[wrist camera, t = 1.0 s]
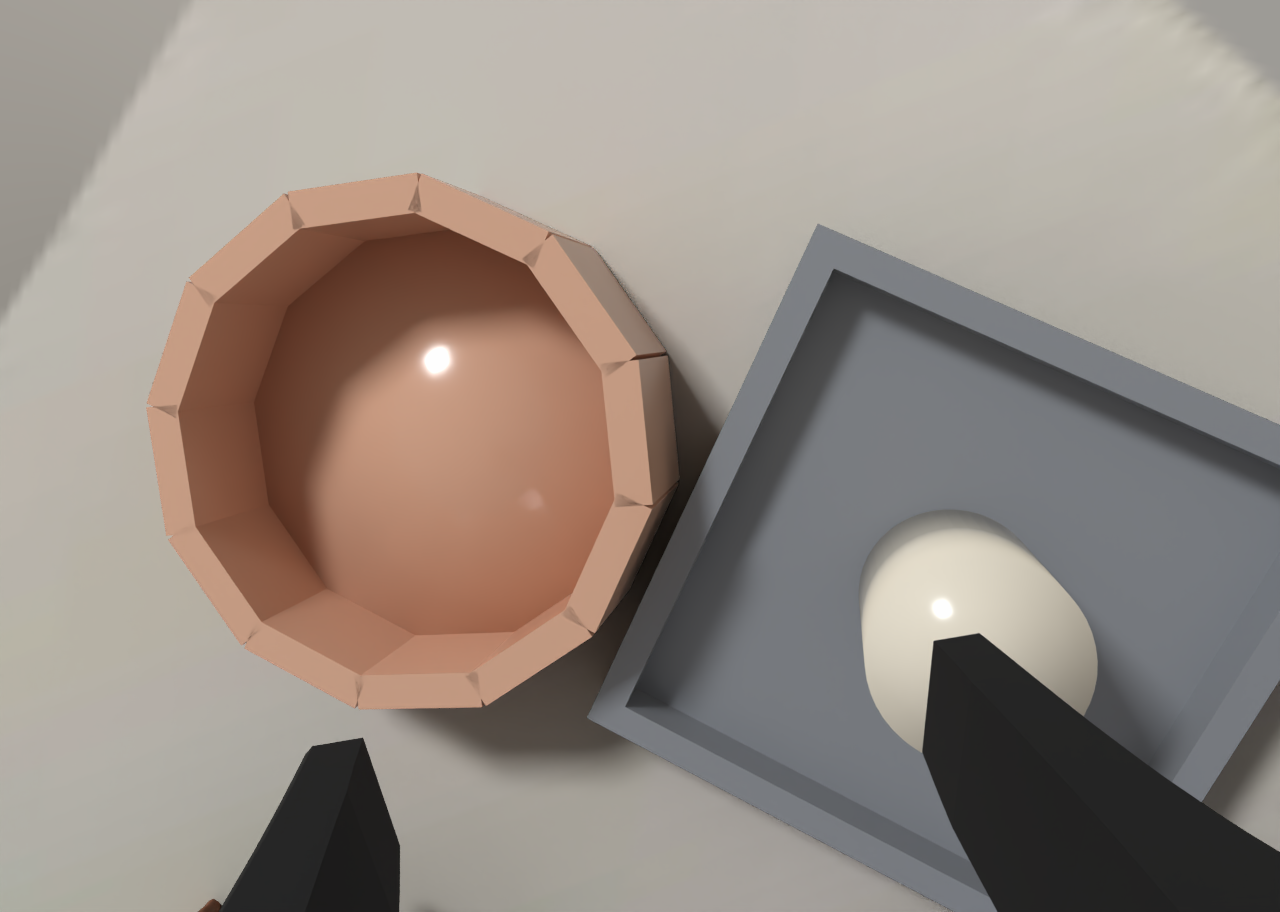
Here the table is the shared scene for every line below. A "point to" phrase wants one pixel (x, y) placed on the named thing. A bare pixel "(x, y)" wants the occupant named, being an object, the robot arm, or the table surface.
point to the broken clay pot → (211, 906)
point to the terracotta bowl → (410, 441)
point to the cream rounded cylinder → (964, 612)
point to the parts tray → (953, 480)
